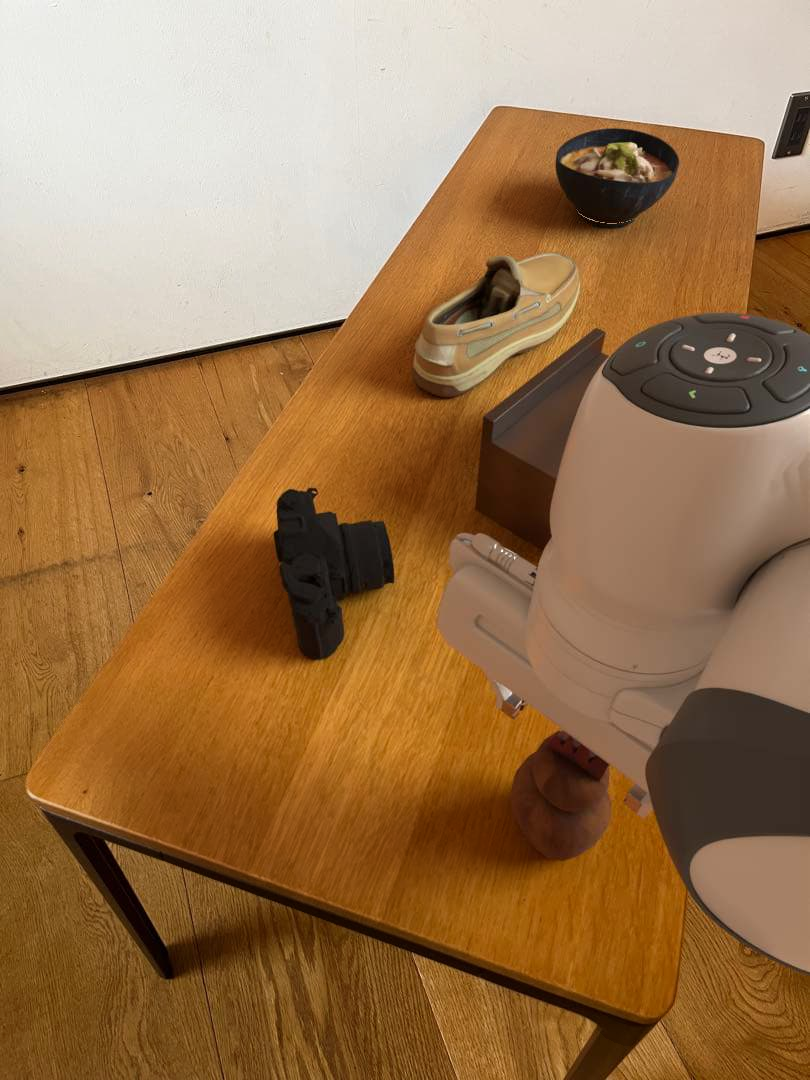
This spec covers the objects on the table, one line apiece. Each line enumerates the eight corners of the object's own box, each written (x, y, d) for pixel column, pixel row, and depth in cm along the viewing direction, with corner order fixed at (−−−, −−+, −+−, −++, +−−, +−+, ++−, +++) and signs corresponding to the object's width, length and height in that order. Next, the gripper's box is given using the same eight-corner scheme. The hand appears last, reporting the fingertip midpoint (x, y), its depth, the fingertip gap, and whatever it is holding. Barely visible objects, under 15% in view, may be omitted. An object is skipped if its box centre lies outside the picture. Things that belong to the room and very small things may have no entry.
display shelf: (674, 470, 81) (706, 376, 72) (576, 571, 72) (599, 480, 63) (576, 419, 86) (596, 327, 77) (474, 508, 78) (482, 416, 69)
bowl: (530, 226, 115) (539, 156, 107) (573, 179, 125) (583, 112, 117) (644, 254, 109) (661, 183, 102) (679, 203, 119) (697, 134, 112)
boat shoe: (596, 300, 102) (613, 217, 94) (475, 419, 87) (482, 333, 78) (527, 275, 106) (537, 194, 98) (399, 384, 91) (398, 299, 82)
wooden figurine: (613, 845, 56) (664, 751, 45) (548, 889, 54) (584, 802, 43) (554, 769, 60) (587, 663, 49) (492, 807, 58) (511, 707, 47)
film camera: (407, 648, 67) (406, 583, 60) (294, 668, 66) (281, 605, 59) (376, 520, 77) (372, 452, 70) (277, 535, 76) (263, 468, 69)
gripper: (415, 551, 41) (413, 685, 51) (790, 811, 32) (694, 909, 43) (490, 487, 44) (473, 626, 54) (852, 708, 35) (748, 823, 46)
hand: (572, 752), depth 48 cm, fingers open, 8 cm apart
